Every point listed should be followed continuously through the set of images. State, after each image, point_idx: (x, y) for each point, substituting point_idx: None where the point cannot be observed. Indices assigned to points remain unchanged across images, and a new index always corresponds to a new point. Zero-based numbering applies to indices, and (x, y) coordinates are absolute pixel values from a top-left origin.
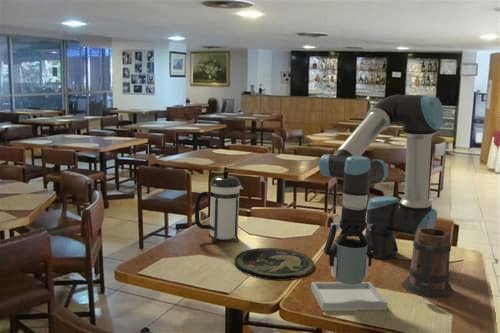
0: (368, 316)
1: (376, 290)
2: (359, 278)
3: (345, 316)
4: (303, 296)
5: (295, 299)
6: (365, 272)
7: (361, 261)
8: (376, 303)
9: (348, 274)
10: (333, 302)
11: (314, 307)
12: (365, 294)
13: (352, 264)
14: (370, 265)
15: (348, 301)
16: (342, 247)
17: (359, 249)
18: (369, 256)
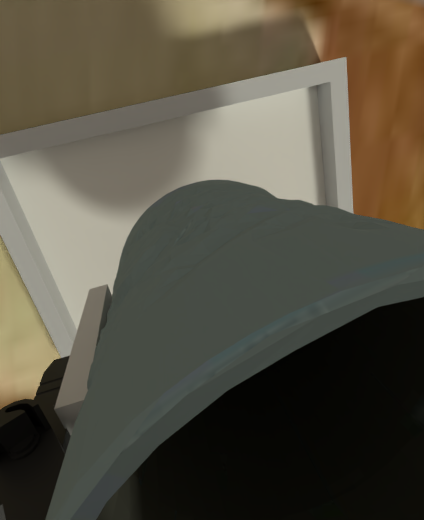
0: (84, 37)
1: (41, 306)
2: (151, 212)
3: (213, 15)
4: (379, 213)
5: (416, 174)
6: (101, 304)
7: (153, 263)
8: (32, 127)
9: (254, 189)
10: (289, 78)
11: (352, 103)
12: (104, 283)
13: (262, 202)
14: (50, 366)
15: (194, 175)
16: None
17: (266, 307)
18: (41, 428)
